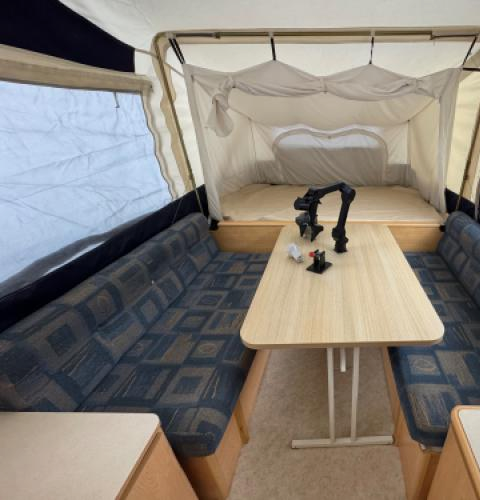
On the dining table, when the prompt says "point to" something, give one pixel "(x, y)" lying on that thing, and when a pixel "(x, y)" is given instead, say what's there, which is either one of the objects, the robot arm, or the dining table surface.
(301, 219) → the robot arm
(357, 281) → the dining table surface
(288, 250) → the spotlight
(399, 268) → the dining table surface
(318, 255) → the switch lever
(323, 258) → the switch bracket
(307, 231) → the grey lantern
